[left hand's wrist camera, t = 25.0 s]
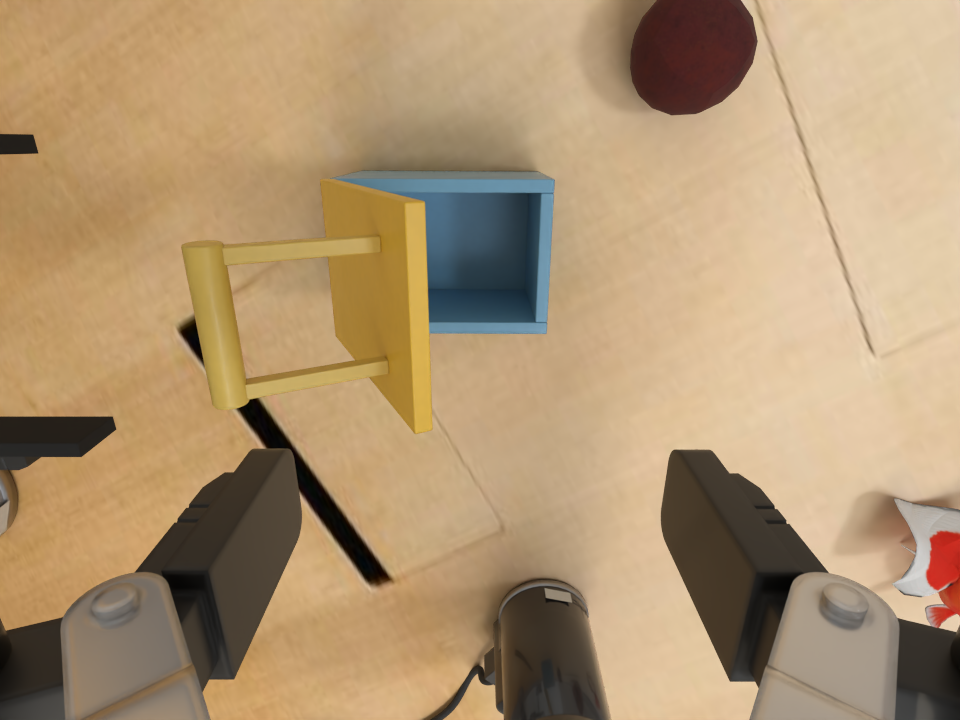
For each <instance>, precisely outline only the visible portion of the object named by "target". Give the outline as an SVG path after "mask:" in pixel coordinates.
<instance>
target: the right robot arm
mask: <svg viewBox="0 0 960 720" xmlns="http://www.w3.org/2000/svg"><path fill="white" fill-rule="evenodd" d="M34 153H38V150H37V147H36V143H35V140H34V136H33V135H21V134H0V154H34ZM115 430H116V427H115V423H114V420H113V417H0V536H1V535H2V534H3V533H5V532H6V531H7V530H8V528H9V527H10V526H11V524H12V523H13V521H14V519H15V516H16V513H17V507H18V497H17V491H16V487H15V484H14V481H13V478H12V476H11V474H10V472H9V471H8V470H20V469H23V468H25V467H28V466H29V465H31V464H32V463H33V462H35V461H36V460H38V459H39V458H40V457H82V456H83V455H84V454H86V453H87V452H88V451H90V450H91V449H92V448H93V447H95V446H96V445H97V444H98V443H100V442H101V441H102V440H103V439H105V438H106V437H107V436H108V435H110V434H111V433H112V432H114V431H115Z"/></svg>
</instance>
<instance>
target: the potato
mask: <svg viewBox="0 0 960 720" xmlns="http://www.w3.org/2000/svg"><path fill="white" fill-rule="evenodd" d="M756 46H757V36H756V31H755V27H754V22H753V17H752V16H751V14H750V13H749V12H748V10H747V9H746V7H745V6H744V4H743V3H742V1H741V0H657V1H656V2H655V3H654V5H653V6H652V7H651V8H650V9H649V11H648V12H647V13H646V14H645V15H644V16H643V18H642V20H641V22H640V24H639V26H638V29H637V31H636V33H635V36H634V40H633V45H632V50H631V64H630V69H631V75H632V81H633V84H634V86H635V88H636V90H637V92H638V94H639V96H640V97H641V98H642V99H643V100H644V101H645V102H646V103H647V104H648V105H649V106H651V107H652V108H653V109H656V110H659V111H662V112H664V113H667V114H670V115H684V114H697V113H700V112H702V111H704V110H706V109H708V108H710V107H712V106H714V105H716V104H718V103H720V102H722V101H723V100H724V99H725V98H727V97H728V96H729V95H730V94H731V93H732V92H733V91H734V90H735V89H737V88H738V87H739V85H740V83H741V82H742V80H743V78H744V77H745V75H746V73H747V72H748V70H749V68H750V67H751V65H752V63H753V60H754V55H755V50H756Z"/></svg>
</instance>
